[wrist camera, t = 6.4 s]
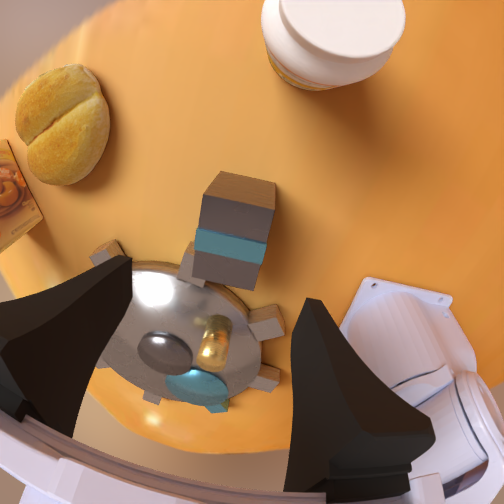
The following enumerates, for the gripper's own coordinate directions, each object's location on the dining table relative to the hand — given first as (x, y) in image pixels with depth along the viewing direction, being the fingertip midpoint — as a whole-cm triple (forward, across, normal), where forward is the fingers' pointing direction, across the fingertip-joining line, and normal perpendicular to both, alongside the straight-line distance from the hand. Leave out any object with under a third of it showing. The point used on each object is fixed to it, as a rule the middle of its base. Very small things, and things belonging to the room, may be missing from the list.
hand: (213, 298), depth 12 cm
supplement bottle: (+10, -2, -12) cm, 15 cm away
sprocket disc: (+9, +4, +14) cm, 17 cm away
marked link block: (+10, 0, 0) cm, 10 cm away
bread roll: (+10, +14, -5) cm, 18 cm away
